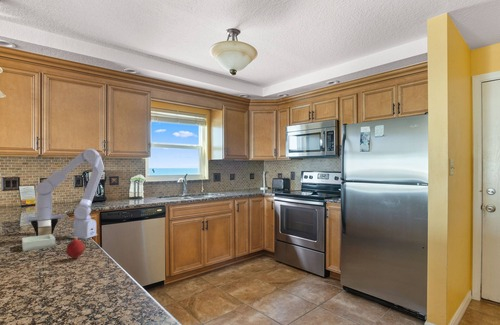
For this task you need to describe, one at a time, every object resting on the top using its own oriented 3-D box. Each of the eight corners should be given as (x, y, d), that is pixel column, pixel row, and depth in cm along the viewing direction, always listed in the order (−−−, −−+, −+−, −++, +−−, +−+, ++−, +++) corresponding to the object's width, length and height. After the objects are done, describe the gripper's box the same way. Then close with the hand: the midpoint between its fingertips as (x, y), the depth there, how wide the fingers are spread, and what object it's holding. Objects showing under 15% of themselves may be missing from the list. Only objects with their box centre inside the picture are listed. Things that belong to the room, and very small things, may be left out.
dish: (52, 241, 130) (52, 234, 130) (55, 246, 122) (55, 238, 122) (21, 245, 123) (22, 237, 123) (22, 251, 114) (23, 242, 114)
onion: (75, 262, 101) (75, 239, 101) (62, 261, 102) (62, 239, 103) (87, 257, 107) (88, 236, 107) (75, 256, 108) (75, 235, 108)
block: (50, 238, 137) (50, 225, 137) (51, 239, 133) (51, 227, 133) (37, 239, 133) (37, 227, 134) (38, 241, 130) (38, 228, 130)
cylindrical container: (55, 231, 150) (55, 185, 150) (44, 235, 143) (44, 186, 143) (42, 231, 151) (43, 185, 151) (31, 234, 143) (32, 186, 144)
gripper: (61, 205, 141) (61, 232, 141) (25, 207, 132) (24, 236, 132) (63, 206, 136) (63, 234, 136) (25, 209, 127) (25, 239, 126)
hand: (44, 235), depth 133 cm, fingers closed on block, 5 cm apart
